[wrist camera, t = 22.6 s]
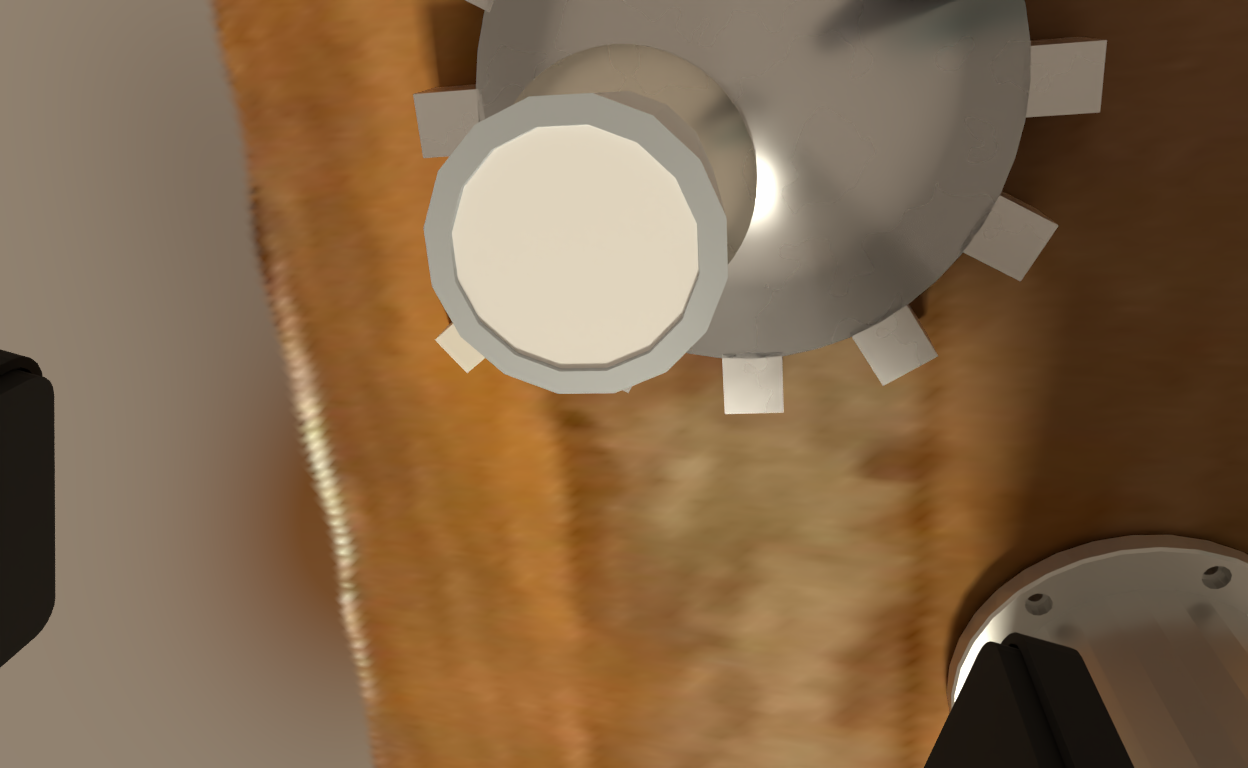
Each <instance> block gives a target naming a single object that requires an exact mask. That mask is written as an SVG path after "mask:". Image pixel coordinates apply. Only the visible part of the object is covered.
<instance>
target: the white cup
mask: <svg viewBox="0 0 1248 768" xmlns="http://www.w3.org/2000/svg"><path fill="white" fill-rule="evenodd" d="M424 234H425V241H426V248H427V255H428V262H429V269H430V276H431V283H432V287H433V289H434V291H435V292H436V294H437V296H438V298H439V299H440V301H441V303H442V305H443V307H444V308H445V310H446V312H447V314H448V315H449V317H450V319H451V321H452V322H453V324H454V326H455V328H456V330H457V331H458V333H459V335H460V337H461V338H463V339H464V340H465V341H466V342H467V343H469V344H470V345H471V346H472V347H473V348H474V349H476V350H477V351H478V352H479V353H480V354H482V355H483V356H484V357H485V358H486V359H487V360H489V361H490V362H491V363H492V364H493V365H495V366H496V367H497V368H498V369H499V370H500V371H502V372H503V373H504V374H506V375H509V376H511V377H514V378H517V379H520V380H522V381H525V382H528V383H530V384H533V385H536V386H539V387H541V388H544V389H547V390H550V391H552V392H555V393H558V394H574V393H616V392H618V391H621V390H623V389H626V388H628V387H631V386H633V385H636V384H638V383H640V382H643V381H645V380H648V379H650V378H653V377H655V376H658V375H660V374H663V373H665V372H667V371H668V370H669V369H670V368H671V367H672V366H673V365H674V364H675V363H676V362H677V361H678V360H679V359H680V358H681V357H682V356H683V355H684V354H685V353H686V352H687V351H688V350H689V349H690V348H691V347H692V346H693V345H694V344H695V343H696V342H697V341H698V340H699V339H700V338H701V337H702V336H703V335H704V334H705V333H706V332H707V329H708V327H709V324H710V322H711V319H712V317H713V314H714V312H715V309H716V307H717V304H718V302H719V299H720V297H721V294H722V292H723V289H724V287H725V284H726V282H727V279H728V258H727V218H726V214H725V210H724V207H723V203H722V199H721V196H720V192H719V189H718V185H717V182H716V178H715V174H714V171H713V168H712V166H711V163H710V161H709V159H708V157H707V154H706V152H705V150H704V148H703V146H702V143H701V141H700V139H699V137H698V134H697V132H696V131H695V130H694V129H693V128H691V127H690V126H689V125H688V124H687V123H686V122H685V121H684V120H683V119H682V118H681V117H680V116H679V115H678V114H677V113H676V112H674V111H673V110H672V109H671V108H670V107H669V106H668V105H667V104H664V103H661V102H659V101H656V100H653V99H650V98H648V97H645V96H642V95H640V94H637V93H634V92H631V91H618V92H600V93H582V94H564V95H546V96H529V97H527V98H525V99H523V100H521V101H519V102H517V103H515V104H514V105H512V106H510V107H508V108H506V109H504V110H502V111H500V112H498V113H496V114H494V115H492V116H490V117H488V118H487V119H485V120H483V121H481V122H479V123H477V124H475V125H474V126H473V128H472V129H471V130H470V131H469V133H468V134H467V135H466V136H465V138H464V139H463V140H462V142H461V143H460V144H459V145H458V147H457V148H456V149H455V150H454V152H453V153H452V154H451V156H450V157H449V158H448V159H447V161H446V162H445V163H444V164H443V166H442V167H441V168H440V170H439V171H438V174H437V178H436V181H435V185H434V189H433V193H432V197H431V201H430V205H429V209H428V213H427V217H426V221H425V225H424Z"/></svg>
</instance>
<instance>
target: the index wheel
mask: <svg viewBox="0 0 1248 768" xmlns="http://www.w3.org/2000/svg"><path fill="white" fill-rule="evenodd" d="M466 1H468V2H470V3H472V4H474V5H476V6H477V7H479V8H481V9H483V10H485V11H484V16H483V22H482V28H481V33H480V39H479V45H478V52H477V73H476V84H472V85H459V86H446V87H435V88H431V89H428V90H425V91H422V92H418V93H415V94H413V96H414V102H415V109H416V115H417V121H418V128H419V134H420V140H421V147H422V153H423V158H431V157H445V156H451V154H452V153H453V152H454V150H455V149H456V148H457V147H458V145H459V144H460V143H461V142H462V140H463V139H464V138H465V136H466V135H467V134H468V133H469V131H470V130H471V129H472V128H473V126H474V125H475V124H477V123H479V122H481V121H483V120H485V119H487V118H488V117H490V116H492V115H494V114H496V113H498V112H500V111H502V110H504V109H506V108H508V107H510V106H512V105H514V104H515V103H517V102H519V101H521V100H523V99H525V98H527V97H529V96H546V95H564V94H582V93H600V92H618V91H631V92H634V93H637V94H640V95H642V96H645V97H648V98H650V99H653V100H656V101H659V102H661V103H664V104H667V105H668V106H669V107H670V108H671V109H672V110H673V111H674V112H676V113H677V114H678V115H679V116H680V117H681V118H682V119H683V120H684V121H685V122H686V123H687V124H688V125H689V126H690V127H691V128H693V129H694V130H695V131H696V132H697V134H698V137H699V139H700V141H701V143H702V146H703V148H704V150H705V152H706V154H707V157H708V159H709V161H710V163H711V166H712V168H713V171H714V174H715V178H716V182H717V185H718V189H719V192H720V196H721V199H722V203H723V207H724V210H725V214H726V218H727V258H728V279H727V282H726V284H725V287H724V289H723V292H722V294H721V297H720V299H719V302H718V304H717V307H716V309H715V312H714V314H713V317H712V319H711V322H710V324H709V327H708V329H707V332H706V333H705V334H704V335H703V336H702V337H701V338H700V339H699V340H698V341H697V342H696V343H695V344H694V345H693V346H692V347H691V348H690V349H689V350H688V351H687V352H686V353H690V354H697V355H703V356H710V357H717V358H722V364H723V384H724V405H725V414H742V413H784V410H783V369H782V356H786V355H791V354H795V353H800V352H805V351H809V350H814V349H818V348H821V347H824V346H827V345H829V344H832V343H835V342H838V341H841V340H844V339H847V338H849V337H852V338H853V339H854V341H855V342H856V344H857V346H858V347H859V349H860V350H861V352H862V353H863V355H864V357H865V358H866V360H867V361H868V363H869V364H870V366H871V368H872V369H873V371H874V372H875V374H876V375H877V377H878V379H879V380H880V382H881V383H882V385H883V386H884V385H886V384H888V383H889V382H891V381H893V380H895V379H897V378H899V377H900V376H902V375H904V374H906V373H908V372H910V371H911V370H913V369H915V368H917V367H919V366H921V365H923V364H924V363H926V362H928V361H930V360H932V359H934V358H935V357H937V356H938V355H937V353H936V351H935V349H934V347H933V345H932V343H931V340H930V338H929V336H928V334H927V332H926V331H925V329H924V328H923V326H922V324H921V323H920V321H919V319H918V318H917V316H916V315H915V313H914V311H913V310H912V308H911V306H910V305H909V303H911V302H912V301H913V300H914V299H915V298H917V297H918V296H919V295H920V294H921V293H923V292H924V291H925V290H926V289H927V288H929V287H930V286H931V285H932V284H933V283H935V282H936V281H937V280H938V279H939V278H940V277H941V276H942V274H943V273H944V272H945V271H946V270H947V269H948V268H949V267H950V266H951V265H952V264H953V263H954V262H955V261H956V260H957V259H958V257H959V256H960V255H961V254H962V253H965V254H967V255H969V256H971V257H973V258H975V259H977V260H979V261H981V262H983V263H985V264H987V265H989V266H991V267H993V268H995V269H997V270H999V271H1001V272H1003V273H1005V274H1007V275H1009V276H1011V277H1013V278H1014V279H1016V280H1018V281H1020V282H1021V280H1022V279H1023V277H1024V276H1025V274H1026V273H1027V271H1028V270H1029V269H1030V267H1031V266H1032V264H1033V263H1034V261H1035V260H1036V258H1037V257H1038V255H1039V254H1040V252H1041V251H1042V249H1043V248H1044V246H1045V245H1046V244H1047V242H1048V241H1049V239H1050V238H1051V236H1052V235H1053V233H1054V232H1055V230H1056V229H1057V227H1058V226H1059V225H1057V224H1056V223H1055V222H1054V221H1052V220H1051V219H1050V218H1049V217H1047V216H1046V215H1045V214H1044V213H1042V212H1041V211H1040V210H1038V209H1036V208H1034V207H1032V206H1030V205H1029V204H1027V203H1025V202H1023V201H1021V200H1019V199H1017V198H1015V197H1013V196H1011V195H1009V194H1007V193H1005V192H1003V191H1002V189H1003V187H1004V184H1005V182H1006V179H1007V177H1008V175H1009V172H1010V170H1011V167H1012V165H1013V162H1014V160H1015V157H1016V154H1017V150H1018V146H1019V142H1020V139H1021V135H1022V131H1023V127H1024V124H1025V120H1026V117H1040V116H1055V115H1070V114H1085V113H1100V109H1101V98H1102V88H1103V77H1104V67H1105V56H1106V46H1107V40H1103V39H1097V38H1090V37H1084V36H1082V37H1069V38H1056V39H1043V40H1031V41H1030V34H1029V26H1028V19H1027V11H1026V4H1025V0H466ZM631 387H632V386H631ZM631 387H628V388H626V389H623V391H625V392H628V393H629V391H630V389H631Z"/></svg>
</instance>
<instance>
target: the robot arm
mask: <svg viewBox="0 0 1248 768" xmlns="http://www.w3.org/2000/svg"><path fill="white" fill-rule="evenodd" d="M54 464H55V462H54V391H53V386H52V384H51V382H50V381H49V380H47V379H46V378H45V377H42V371H41V370H40V367H39V365H38V363H36V362H35V361H34V360H33V359H31V358H29V357H25V356H21V355H17V354H14V353H11V352H7V351H3V350H0V667H1V666H2V665H4V664H5V663H6V662H7V661H8V660H9V659H11V658H12V657H13V656H14V655H15V654H16V653H17V652H19V651H20V650H21V649H22V648H23V647H24V646H26V645H27V644H28V643H29V642H30V641H31V640H32V639H34V638H35V637H36V636H37V635H38V634H39V632H40V631H41V630H42V629H43V628H44V626H45V625H46V623H47V622H48V620H49V617H50V615H51V613H52V610H53V607H54V603H55V480H54V479H55V478H54V477H55V476H54V475H55V468H54V467H55V465H54ZM947 698H948V705H949V712H950V714H949V716H948V718H947V720H946V722H945V724H944V726H943V728H942V731H941V733H940V735H939V737H938V739H937V741H936V743H935V745H934V747H933V750H932V752H931V754H930V756H929V758H928V760H927V762H926V764H925V766H924V768H1248V555H1247V554H1246V553H1244V552H1242V551H1239V550H1236V549H1233V548H1230V547H1227V546H1224V545H1220V544H1217V543H1214V542H1211V541H1208V540H1202V539H1196V538H1189V537H1182V536H1175V535H1129V536H1123V537H1117V538H1111V539H1104V540H1098V541H1093V542H1090V543H1087V544H1083V545H1080V546H1077V547H1074V548H1071V549H1068V550H1065V551H1062V552H1059V553H1056V554H1054V555H1052V556H1050V557H1048V558H1046V559H1044V560H1042V561H1040V562H1038V563H1036V564H1035V565H1033V566H1031V567H1029V568H1027V569H1025V570H1023V571H1022V572H1021V573H1019V574H1018V575H1016V576H1015V577H1014V578H1012V579H1011V580H1010V581H1008V582H1007V583H1006V584H1004V585H1003V586H1002V587H1000V588H999V589H998V590H996V591H995V592H994V594H993V595H992V596H991V597H990V598H989V599H988V600H987V601H986V602H985V603H984V604H983V605H982V606H981V607H980V608H979V609H978V611H977V612H976V613H975V614H974V615H973V617H972V619H971V620H970V622H969V623H968V625H967V627H966V628H965V630H964V631H963V633H962V635H961V636H960V638H959V640H958V643H957V646H956V648H955V651H954V654H953V657H952V660H951V663H950V665H949V675H948V684H947Z"/></svg>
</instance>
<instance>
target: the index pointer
mask: <svg viewBox="0 0 1248 768" xmlns="http://www.w3.org/2000/svg"><path fill="white" fill-rule="evenodd" d="M435 340H436V342H437V343H438V344H439V345H440V346H441V347H442V348H443V349H444V350H445V351H446V352H447V353H448V354H449V355H450V356H451V357H452V358H453V359H454V360H455V361H456V362H457V363H458V364H459V365H460V366H461V367H462V368H463V369H464V370H465V371H466V372H467V373H468V372H469V371H470V370H472V369H473V368H474V367H475V366H476V365H477V364H478V363H480V362H481V361H482V360H483V359H484V358H485V357H484V356H483V355H482V354H480V353H479V352H478V351H477V350H476V349H474V348H473V347H472V346H471V345H470V344H469V343H467V342H466V341H465V340H464V339H463V338H461V337H460V335H459V333H458V331H457V330H456V328H455V326H454V324H453V322H451V323H450V324H449V325H448V326H447V327H446V328H445V330H444V331H443V332H442V333H441V334H440V335H439V336H438V337H437V338H436V339H435Z"/></svg>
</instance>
